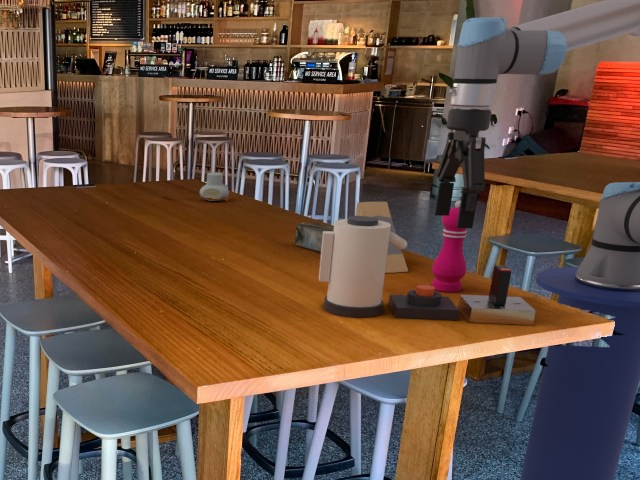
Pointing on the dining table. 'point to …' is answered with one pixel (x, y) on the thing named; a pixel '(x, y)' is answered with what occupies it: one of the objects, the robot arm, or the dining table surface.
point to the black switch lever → (499, 285)
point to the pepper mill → (450, 255)
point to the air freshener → (214, 187)
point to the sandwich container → (382, 213)
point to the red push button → (425, 290)
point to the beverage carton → (311, 235)
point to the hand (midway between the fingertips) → (452, 221)
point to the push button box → (423, 306)
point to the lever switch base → (496, 310)
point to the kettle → (356, 265)
